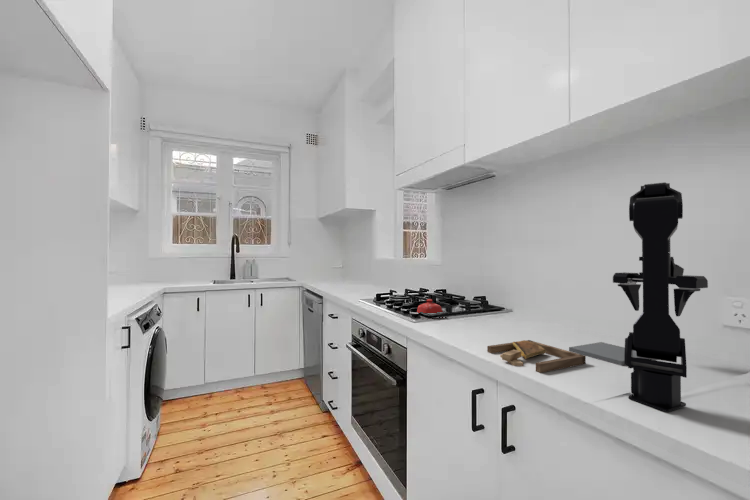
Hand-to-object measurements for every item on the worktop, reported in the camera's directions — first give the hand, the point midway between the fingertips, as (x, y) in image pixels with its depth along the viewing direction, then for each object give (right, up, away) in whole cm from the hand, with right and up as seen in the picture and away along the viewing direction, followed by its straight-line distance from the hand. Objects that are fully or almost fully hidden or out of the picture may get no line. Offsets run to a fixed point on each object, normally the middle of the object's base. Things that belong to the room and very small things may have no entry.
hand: (656, 313), depth 89 cm
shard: (-31, -14, 0) cm, 34 cm away
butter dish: (-50, -13, +57) cm, 77 cm away
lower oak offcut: (-38, -13, -1) cm, 40 cm away
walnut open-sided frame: (-31, -12, +1) cm, 34 cm away
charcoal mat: (-9, -12, +5) cm, 16 cm away
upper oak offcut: (-38, -11, -1) cm, 40 cm away
